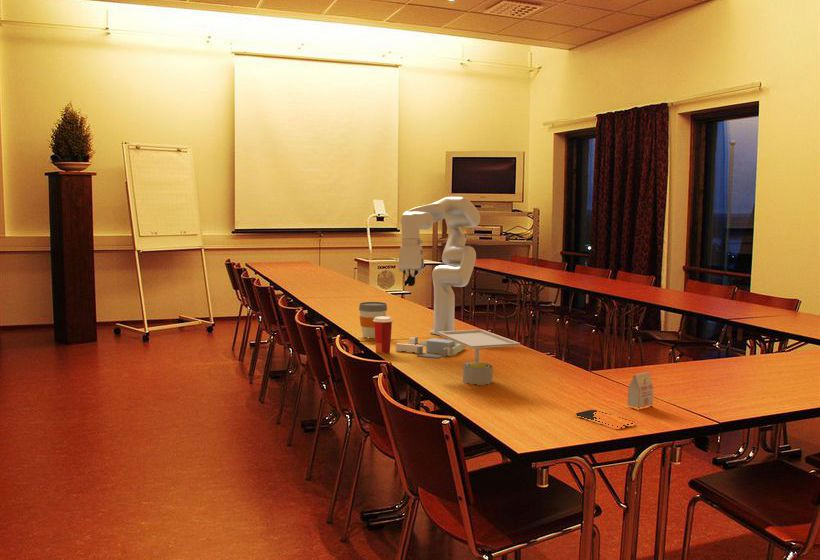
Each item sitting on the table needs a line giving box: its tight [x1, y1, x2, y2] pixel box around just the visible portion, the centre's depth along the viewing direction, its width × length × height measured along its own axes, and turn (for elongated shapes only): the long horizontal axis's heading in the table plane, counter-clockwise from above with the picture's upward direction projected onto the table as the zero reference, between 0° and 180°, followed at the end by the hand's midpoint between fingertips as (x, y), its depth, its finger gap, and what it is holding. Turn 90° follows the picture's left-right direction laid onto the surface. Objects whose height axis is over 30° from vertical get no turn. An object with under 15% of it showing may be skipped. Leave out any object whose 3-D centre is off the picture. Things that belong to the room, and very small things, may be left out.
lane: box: [395, 336, 465, 359], centre depth 290 cm, size 29×24×3 cm
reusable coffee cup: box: [358, 301, 388, 339], centre depth 319 cm, size 13×13×15 cm
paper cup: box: [373, 315, 393, 354], centre depth 284 cm, size 8×8×14 cm
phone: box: [575, 409, 636, 427], centre depth 195 cm, size 8×1×15 cm
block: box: [425, 337, 456, 355], centre depth 286 cm, size 6×10×5 cm, turn 59°
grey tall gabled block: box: [627, 371, 654, 408], centre depth 208 cm, size 4×7×10 cm, turn 126°
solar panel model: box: [436, 328, 521, 386], centre depth 237 cm, size 28×17×15 cm, turn 20°
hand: (411, 285), depth 303 cm, fingers closed
